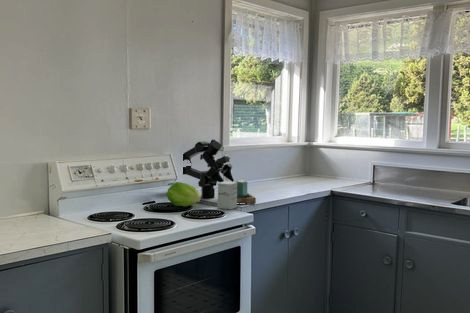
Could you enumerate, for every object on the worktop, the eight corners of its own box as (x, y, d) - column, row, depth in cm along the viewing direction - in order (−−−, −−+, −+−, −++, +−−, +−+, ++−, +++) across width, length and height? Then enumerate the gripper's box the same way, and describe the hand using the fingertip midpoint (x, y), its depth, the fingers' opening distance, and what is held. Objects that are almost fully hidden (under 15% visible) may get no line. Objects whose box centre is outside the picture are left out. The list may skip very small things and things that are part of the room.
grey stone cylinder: (217, 208, 230) (217, 183, 229) (224, 205, 237) (224, 180, 236) (230, 209, 227) (230, 184, 226) (237, 207, 234) (237, 182, 232)
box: (231, 204, 238) (231, 199, 238) (225, 199, 251) (224, 194, 250) (255, 203, 242) (255, 197, 241) (248, 198, 254) (248, 193, 254)
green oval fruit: (187, 213, 220) (187, 187, 219) (162, 206, 235) (161, 182, 233) (209, 208, 230) (209, 184, 229) (183, 202, 244) (183, 179, 243)
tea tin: (235, 200, 245) (235, 181, 244) (239, 198, 249) (240, 180, 248) (242, 201, 243) (242, 182, 241) (247, 199, 246) (247, 180, 245)
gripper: (210, 152, 242) (229, 174, 238) (229, 149, 258) (246, 170, 254) (198, 166, 247) (215, 188, 243) (217, 162, 263) (234, 183, 259)
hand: (228, 182), depth 249 cm, fingers open, 9 cm apart
